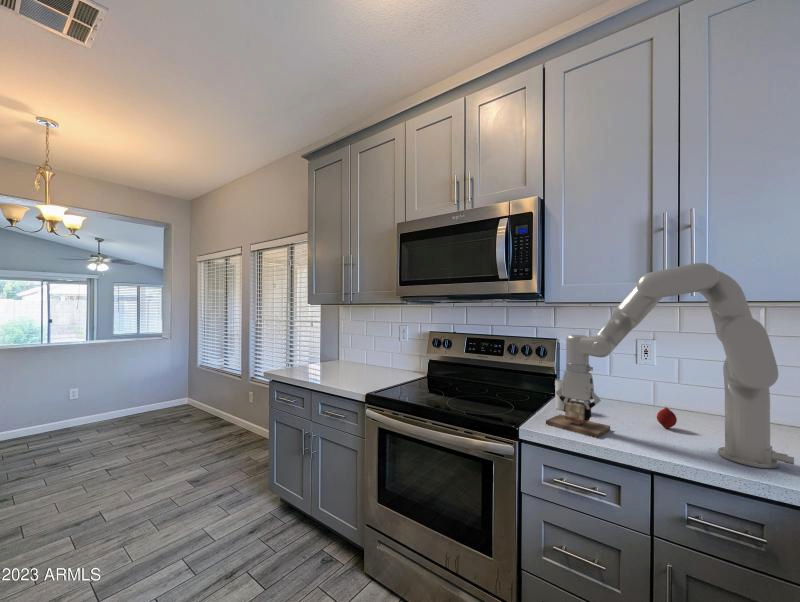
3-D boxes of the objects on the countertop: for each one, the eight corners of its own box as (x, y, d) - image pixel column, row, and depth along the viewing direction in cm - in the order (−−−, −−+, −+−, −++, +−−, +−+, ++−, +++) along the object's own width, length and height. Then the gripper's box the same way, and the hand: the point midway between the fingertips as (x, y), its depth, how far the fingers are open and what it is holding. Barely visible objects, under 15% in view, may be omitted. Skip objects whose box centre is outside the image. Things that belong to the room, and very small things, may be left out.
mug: (553, 409, 152) (553, 381, 152) (557, 405, 157) (557, 379, 158) (578, 413, 146) (578, 384, 146) (582, 409, 151) (582, 382, 151)
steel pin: (583, 423, 129) (583, 404, 129) (579, 425, 127) (579, 405, 127) (574, 421, 132) (574, 402, 132) (571, 422, 130) (571, 404, 130)
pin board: (610, 430, 127) (610, 425, 127) (597, 438, 119) (597, 433, 119) (560, 417, 140) (560, 414, 140) (545, 424, 132) (545, 420, 132)
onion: (677, 428, 129) (677, 406, 129) (675, 432, 125) (675, 410, 125) (658, 424, 133) (658, 403, 133) (655, 428, 129) (655, 406, 129)
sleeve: (589, 419, 129) (589, 403, 129) (582, 423, 125) (582, 406, 125) (572, 415, 134) (572, 400, 134) (565, 419, 130) (565, 403, 130)
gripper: (606, 370, 126) (606, 420, 126) (558, 364, 139) (558, 409, 139) (598, 373, 121) (598, 425, 121) (549, 366, 134) (549, 413, 134)
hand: (577, 416), depth 130 cm, fingers closed on sleeve, 6 cm apart
